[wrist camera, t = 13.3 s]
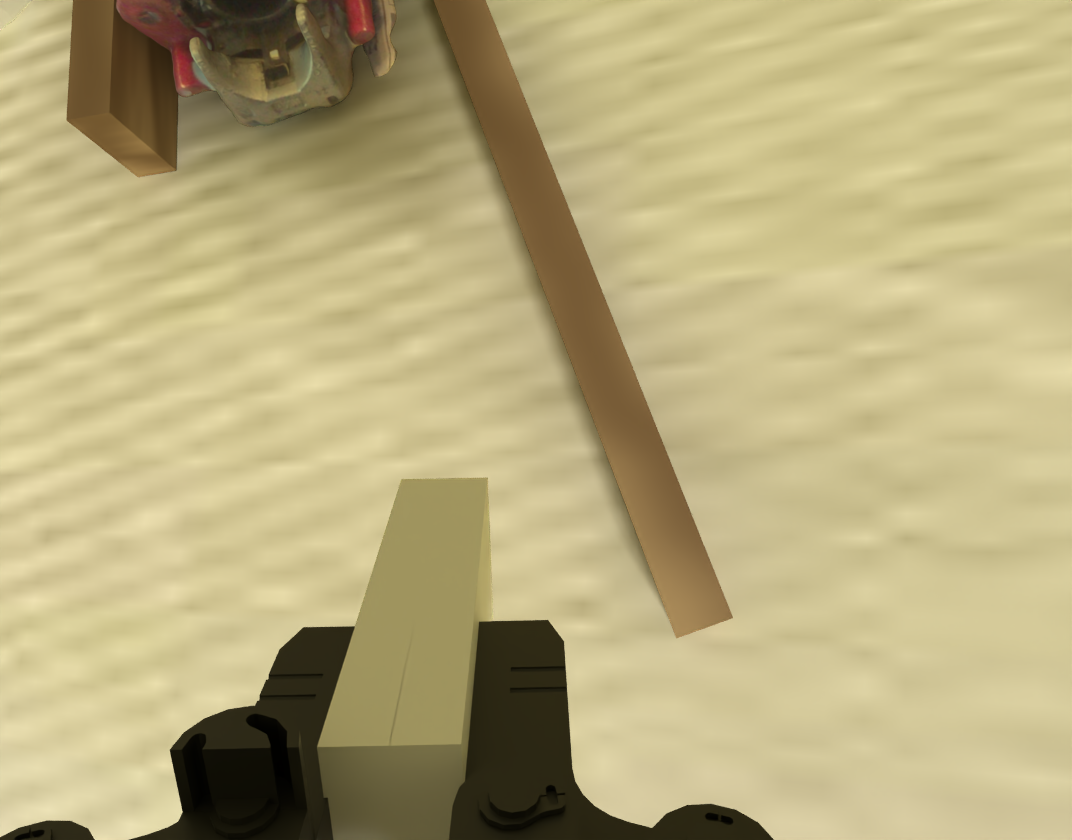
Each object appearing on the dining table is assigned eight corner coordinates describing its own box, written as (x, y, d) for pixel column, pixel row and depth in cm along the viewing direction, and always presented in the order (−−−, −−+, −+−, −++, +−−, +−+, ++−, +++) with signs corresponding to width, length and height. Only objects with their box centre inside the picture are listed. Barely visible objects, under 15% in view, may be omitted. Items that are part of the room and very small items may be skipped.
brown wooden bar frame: (398, -208, 45) (252, -619, 30) (728, 617, 33) (756, 617, 18) (78, -60, 46) (-212, -381, 31) (287, 776, 35) (-15, 894, 20)
